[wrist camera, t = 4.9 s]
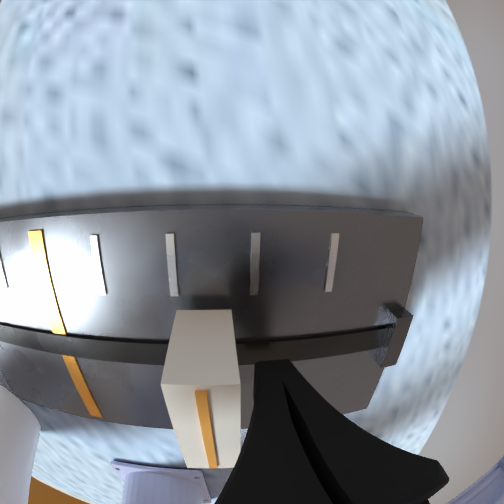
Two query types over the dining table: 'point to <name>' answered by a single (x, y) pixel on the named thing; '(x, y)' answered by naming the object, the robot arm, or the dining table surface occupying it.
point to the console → (200, 299)
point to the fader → (204, 388)
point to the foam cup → (16, 448)
